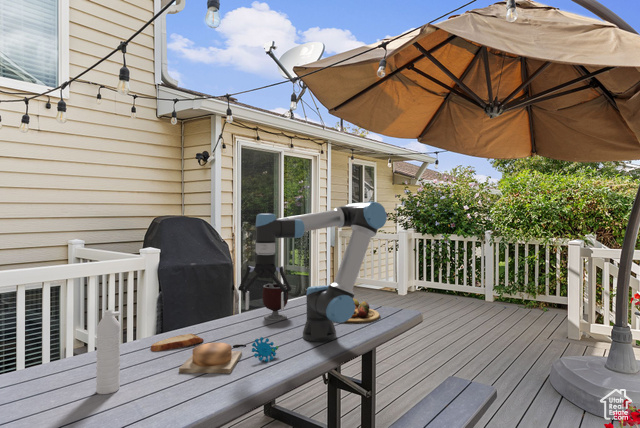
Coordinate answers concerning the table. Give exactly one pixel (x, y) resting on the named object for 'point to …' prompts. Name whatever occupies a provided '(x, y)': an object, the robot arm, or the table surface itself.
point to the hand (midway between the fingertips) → (264, 309)
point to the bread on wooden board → (211, 359)
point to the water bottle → (108, 353)
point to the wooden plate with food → (362, 314)
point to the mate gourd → (273, 301)
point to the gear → (264, 349)
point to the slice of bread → (176, 342)
